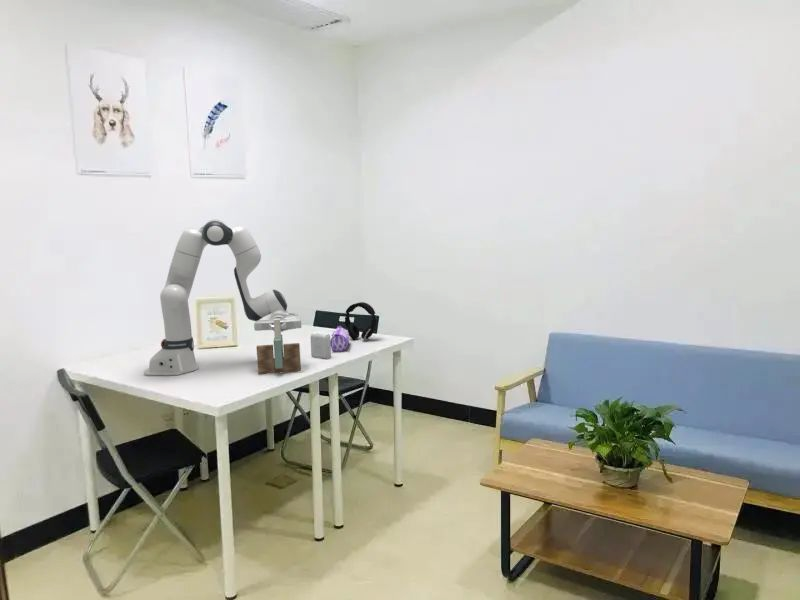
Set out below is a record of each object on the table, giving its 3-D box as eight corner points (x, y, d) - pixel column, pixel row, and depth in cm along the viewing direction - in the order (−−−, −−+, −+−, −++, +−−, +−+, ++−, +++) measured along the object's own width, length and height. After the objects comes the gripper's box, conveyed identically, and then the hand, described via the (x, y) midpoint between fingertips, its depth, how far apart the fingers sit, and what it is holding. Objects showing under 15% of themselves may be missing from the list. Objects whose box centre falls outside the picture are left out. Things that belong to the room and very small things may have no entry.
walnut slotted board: (258, 374, 265) (256, 346, 263) (258, 372, 267) (256, 345, 265) (300, 371, 267) (299, 344, 265) (300, 370, 269) (299, 343, 268)
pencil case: (332, 343, 322) (331, 325, 320) (349, 342, 322) (349, 324, 321) (330, 353, 300) (329, 334, 298) (349, 352, 300) (348, 333, 299)
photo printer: (332, 357, 291) (331, 331, 289) (326, 359, 287) (325, 333, 285) (316, 355, 296) (314, 329, 295) (309, 357, 293) (308, 331, 291)
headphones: (343, 340, 328) (341, 303, 325) (351, 337, 334) (349, 301, 331) (371, 343, 319) (370, 304, 316) (379, 340, 326) (378, 302, 323)
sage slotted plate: (275, 368, 260) (272, 321, 257) (277, 361, 272) (274, 317, 269) (282, 368, 261) (279, 321, 258) (283, 361, 273) (281, 316, 270)
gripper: (254, 316, 275) (251, 321, 261) (301, 313, 278) (300, 318, 264) (255, 330, 276) (252, 336, 262) (302, 327, 279) (301, 333, 265)
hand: (277, 327), depth 263 cm, fingers closed on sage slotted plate, 2 cm apart
